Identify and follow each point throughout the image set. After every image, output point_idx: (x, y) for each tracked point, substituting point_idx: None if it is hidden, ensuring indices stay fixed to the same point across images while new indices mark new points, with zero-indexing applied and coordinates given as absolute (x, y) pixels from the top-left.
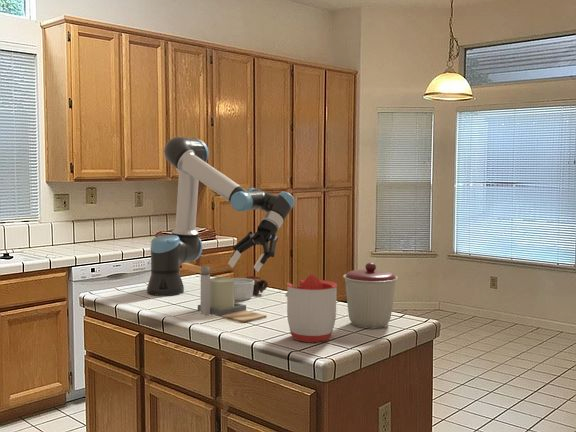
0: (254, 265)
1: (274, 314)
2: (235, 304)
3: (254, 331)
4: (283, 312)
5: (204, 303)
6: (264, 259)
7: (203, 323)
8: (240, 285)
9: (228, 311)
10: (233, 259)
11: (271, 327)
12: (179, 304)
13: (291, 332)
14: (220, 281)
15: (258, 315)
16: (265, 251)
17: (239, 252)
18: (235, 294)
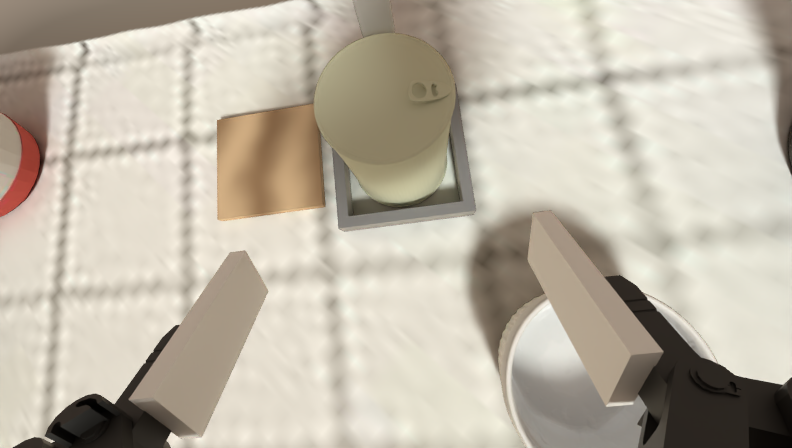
0: (237, 263)
1: None
2: (387, 212)
3: (143, 97)
4: None
5: None
6: (152, 361)
7: (301, 33)
8: (513, 333)
9: None
10: (556, 266)
11: (135, 158)
12: (589, 92)
13: (4, 114)
14: (346, 64)
15: (233, 196)
16: (63, 427)
17: (651, 408)
18: (520, 309)
